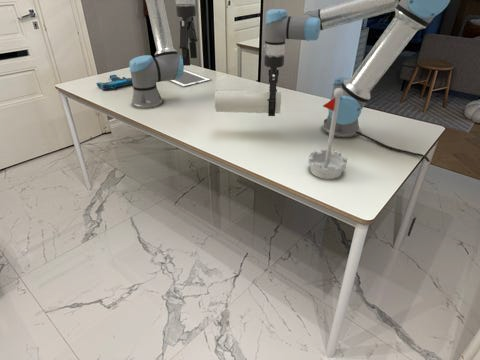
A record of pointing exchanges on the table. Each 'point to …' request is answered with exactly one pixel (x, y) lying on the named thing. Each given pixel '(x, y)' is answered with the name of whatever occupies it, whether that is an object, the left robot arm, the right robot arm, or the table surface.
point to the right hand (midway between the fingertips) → (271, 111)
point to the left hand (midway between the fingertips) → (190, 61)
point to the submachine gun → (115, 82)
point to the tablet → (189, 79)
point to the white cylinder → (245, 101)
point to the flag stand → (329, 148)
